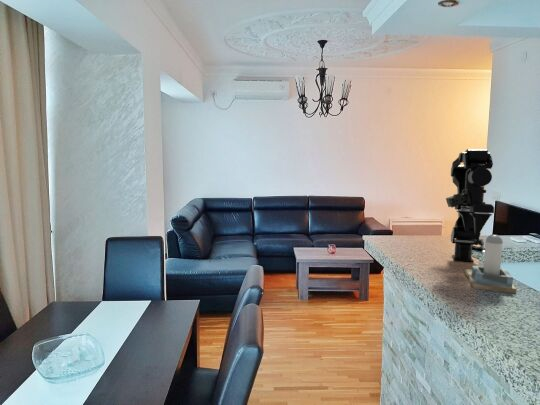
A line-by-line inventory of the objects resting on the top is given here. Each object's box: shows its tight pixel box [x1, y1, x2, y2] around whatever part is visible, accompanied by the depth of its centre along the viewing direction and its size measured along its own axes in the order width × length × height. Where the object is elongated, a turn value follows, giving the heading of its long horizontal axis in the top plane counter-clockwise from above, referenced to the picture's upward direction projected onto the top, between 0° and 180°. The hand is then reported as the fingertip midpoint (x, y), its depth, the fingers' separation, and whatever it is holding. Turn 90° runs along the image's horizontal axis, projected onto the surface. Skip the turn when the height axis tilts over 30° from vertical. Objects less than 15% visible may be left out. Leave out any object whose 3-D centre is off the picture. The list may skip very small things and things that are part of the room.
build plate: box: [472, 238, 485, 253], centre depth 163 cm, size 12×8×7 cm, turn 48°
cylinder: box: [483, 234, 503, 275], centre depth 118 cm, size 4×4×14 cm
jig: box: [464, 265, 517, 294], centre depth 121 cm, size 16×11×4 cm
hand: (471, 232), depth 133 cm, fingers open, 9 cm apart
